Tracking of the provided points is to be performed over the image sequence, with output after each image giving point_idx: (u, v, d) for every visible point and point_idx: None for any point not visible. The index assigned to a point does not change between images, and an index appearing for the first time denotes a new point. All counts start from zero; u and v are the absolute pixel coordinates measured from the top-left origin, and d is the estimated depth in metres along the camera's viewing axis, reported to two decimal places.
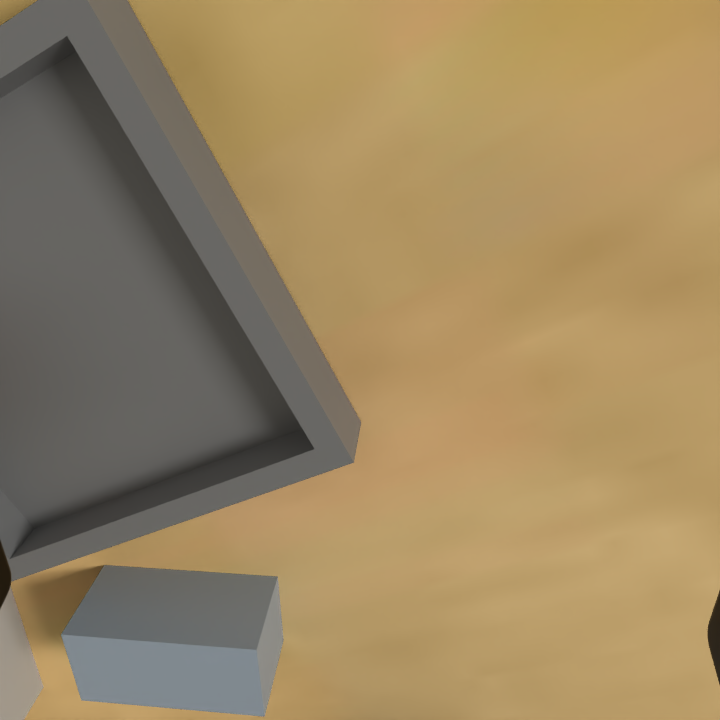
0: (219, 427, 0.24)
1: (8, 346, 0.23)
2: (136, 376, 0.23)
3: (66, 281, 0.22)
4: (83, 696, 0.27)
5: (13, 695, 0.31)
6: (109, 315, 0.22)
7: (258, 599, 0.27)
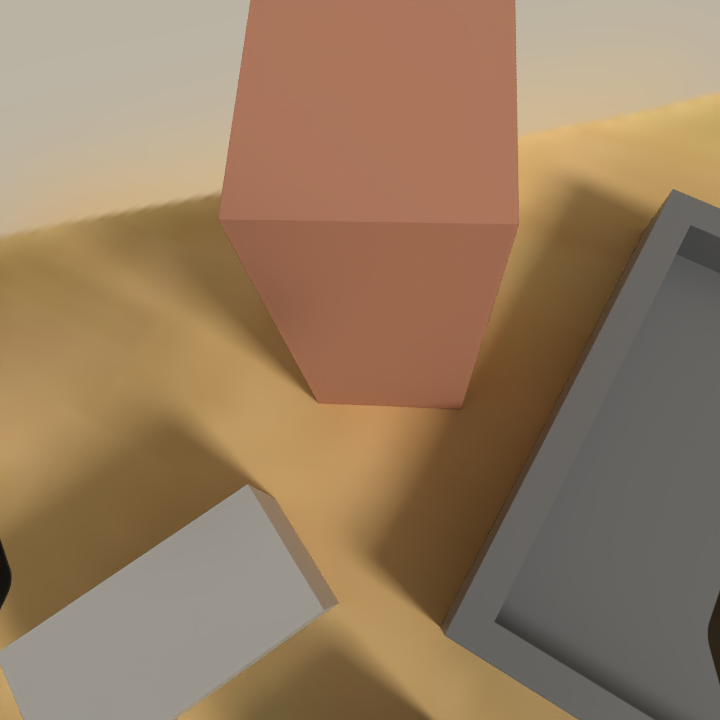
0: None
1: None
2: None
3: None
4: None
5: None
6: None
7: None
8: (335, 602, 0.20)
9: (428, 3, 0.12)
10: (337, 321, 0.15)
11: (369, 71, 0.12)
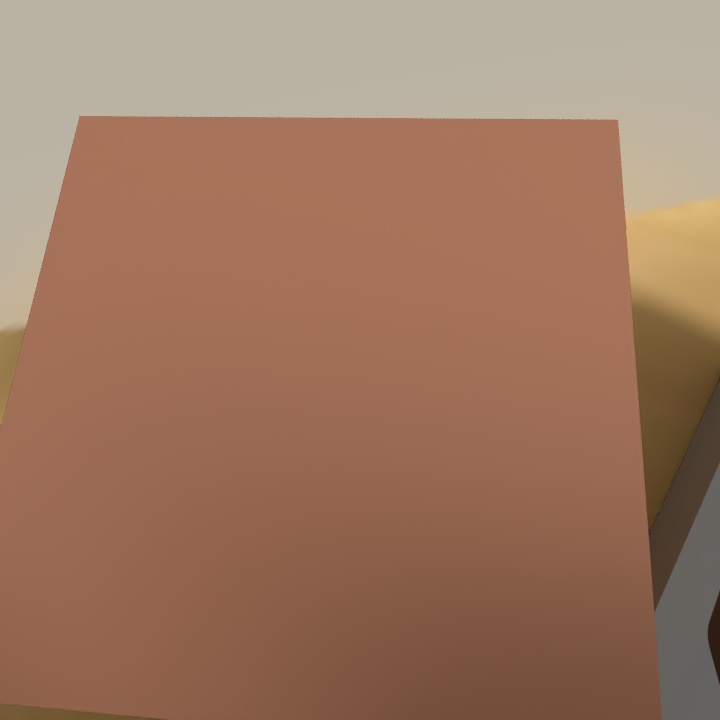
0: None
1: None
2: None
3: None
4: None
5: None
6: None
7: None
8: None
9: (436, 151, 0.06)
10: None
11: (308, 309, 0.05)
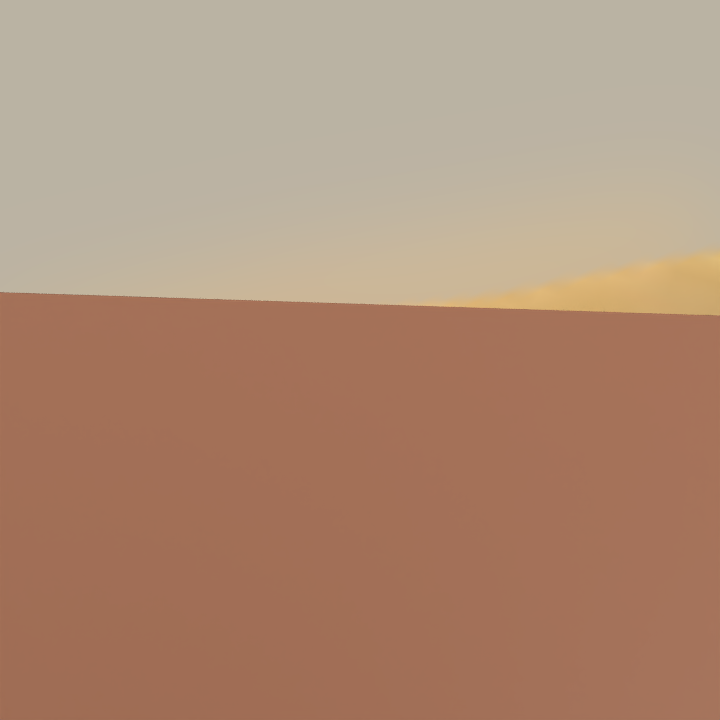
0: None
1: None
2: None
3: None
4: None
5: None
6: None
7: None
8: None
9: (434, 390, 0.03)
10: None
11: None
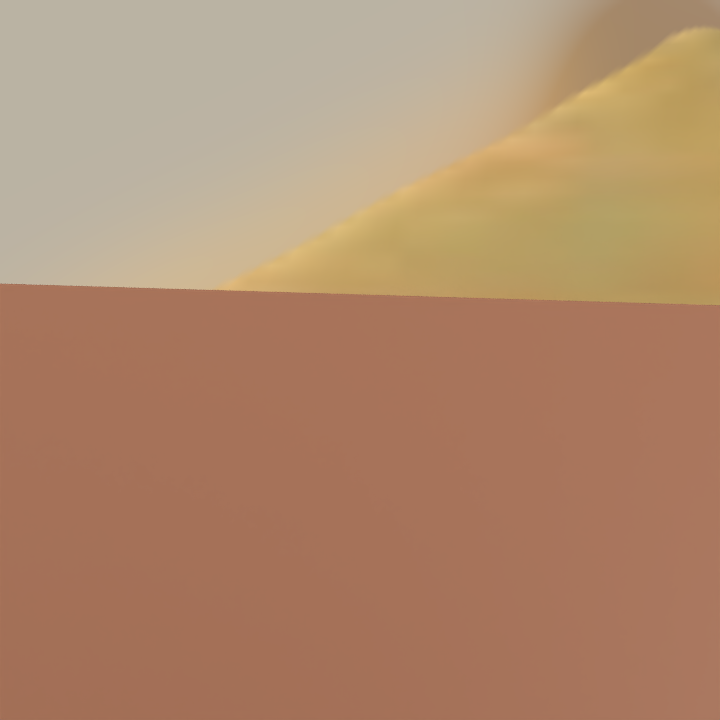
0: None
1: None
2: None
3: None
4: None
5: None
6: None
7: None
8: None
9: (428, 380, 0.03)
10: None
11: None
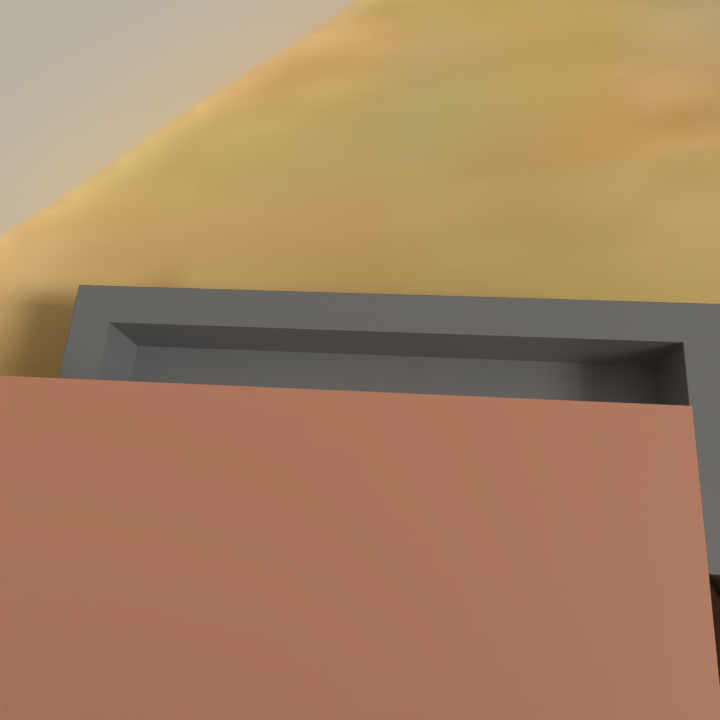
0: None
1: None
2: None
3: None
4: None
5: None
6: None
7: None
8: None
9: (422, 450, 0.04)
10: None
11: None
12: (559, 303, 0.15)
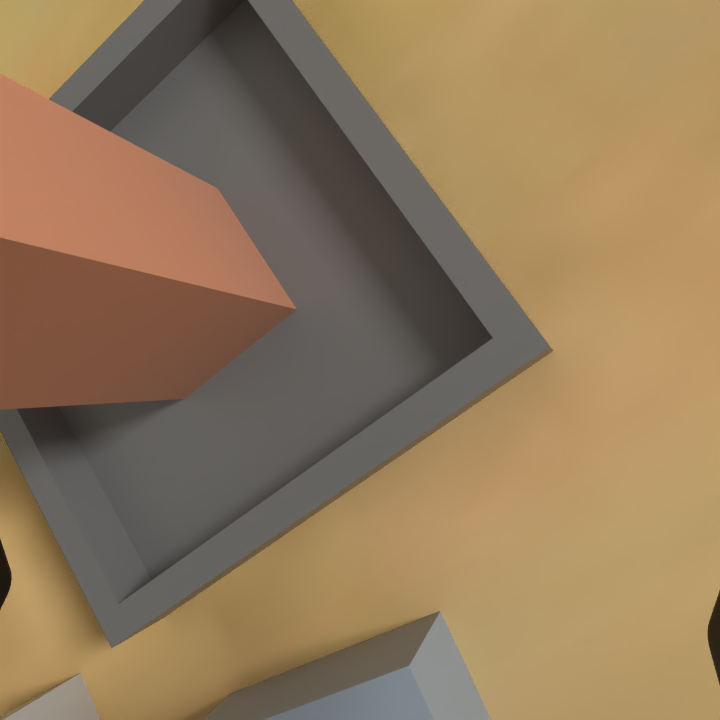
0: (372, 380, 0.19)
1: None
2: (276, 332, 0.20)
3: None
4: None
5: None
6: None
7: (414, 634, 0.18)
8: (63, 683, 0.23)
9: None
10: (15, 370, 0.13)
11: None
12: (141, 8, 0.20)
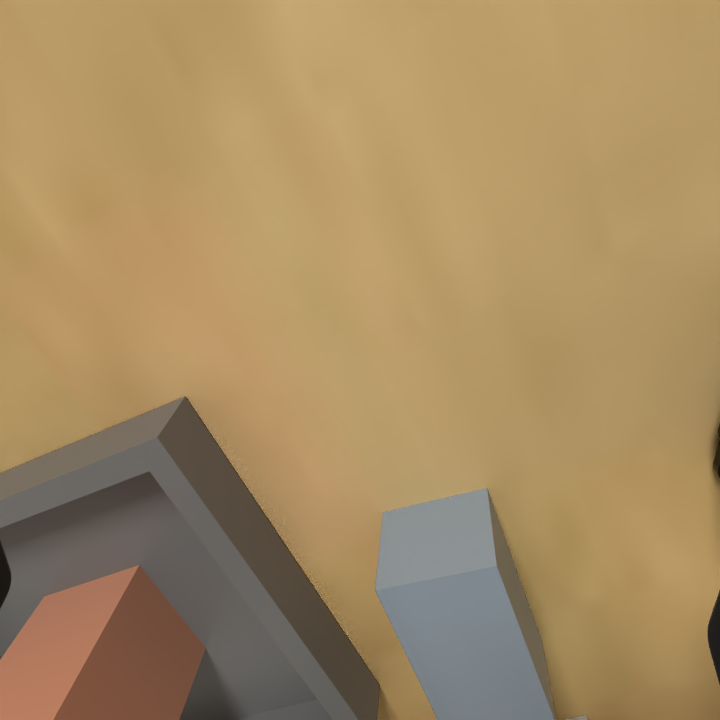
0: None
1: None
2: (156, 580, 0.26)
3: None
4: None
5: None
6: None
7: None
8: None
9: None
10: None
11: None
12: None
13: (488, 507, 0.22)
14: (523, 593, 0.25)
